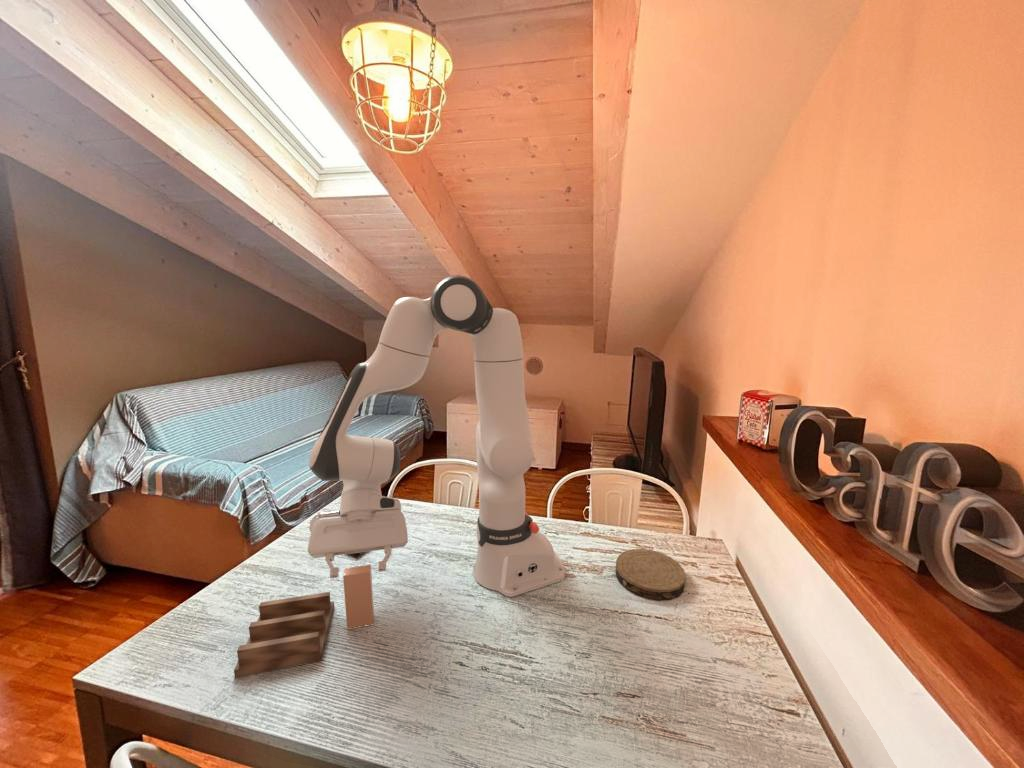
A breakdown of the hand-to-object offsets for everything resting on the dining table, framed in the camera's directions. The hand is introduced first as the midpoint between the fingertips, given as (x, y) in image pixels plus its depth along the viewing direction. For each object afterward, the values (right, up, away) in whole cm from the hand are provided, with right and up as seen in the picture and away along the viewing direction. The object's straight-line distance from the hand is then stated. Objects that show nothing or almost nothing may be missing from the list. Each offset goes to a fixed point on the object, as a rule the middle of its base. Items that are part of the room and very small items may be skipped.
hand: (358, 574), depth 84 cm
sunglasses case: (-9, -5, +30) cm, 32 cm away
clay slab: (+1, -10, -1) cm, 10 cm away
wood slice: (+65, -8, +14) cm, 67 cm away
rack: (-12, -10, -5) cm, 16 cm away
